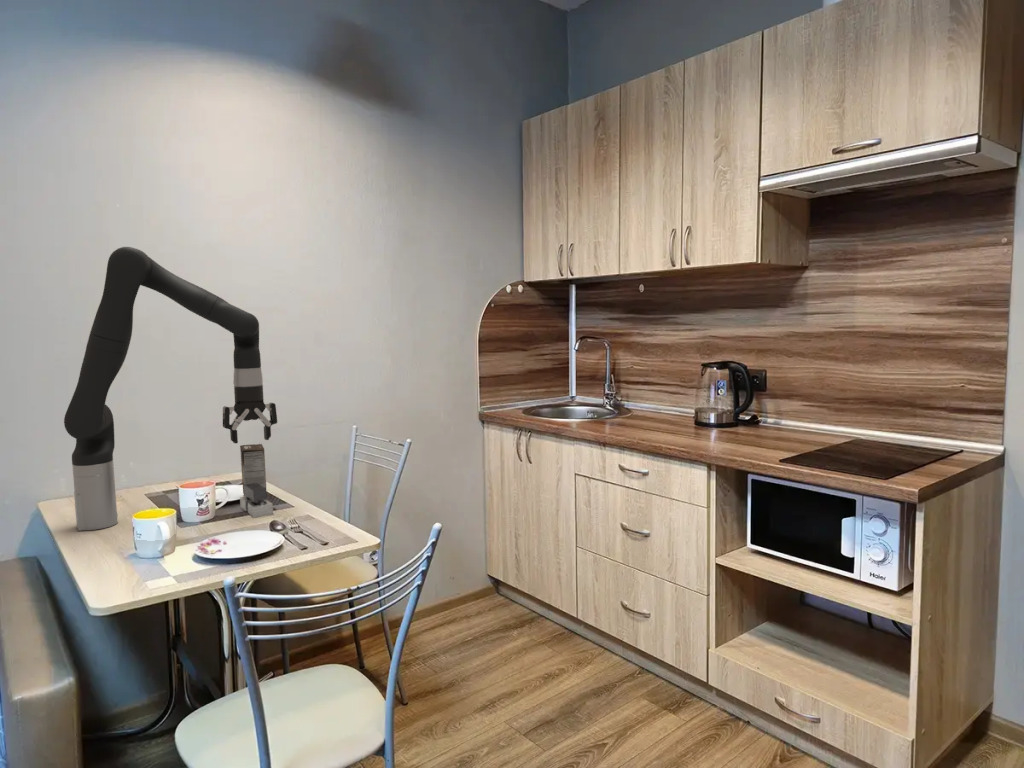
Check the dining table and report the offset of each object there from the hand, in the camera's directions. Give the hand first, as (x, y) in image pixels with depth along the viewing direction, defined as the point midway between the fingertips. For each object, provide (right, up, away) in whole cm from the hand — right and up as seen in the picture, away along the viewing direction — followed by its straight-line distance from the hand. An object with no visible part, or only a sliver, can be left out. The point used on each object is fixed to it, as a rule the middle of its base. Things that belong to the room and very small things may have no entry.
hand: (251, 441), depth 190 cm
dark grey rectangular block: (+1, -20, +2) cm, 20 cm away
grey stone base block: (+1, -20, +2) cm, 20 cm away
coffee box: (-5, -19, +15) cm, 25 cm away
